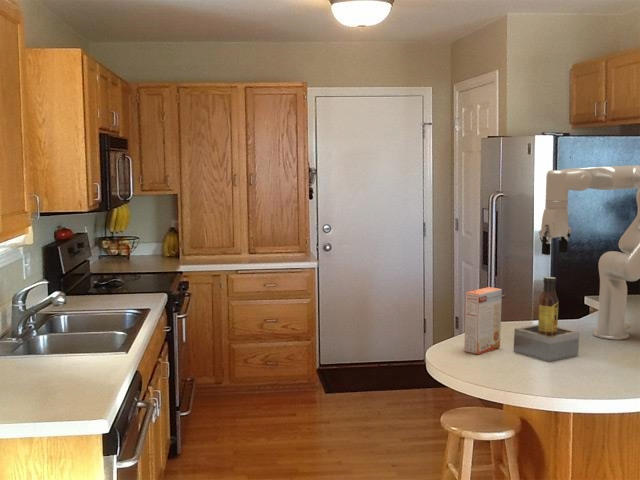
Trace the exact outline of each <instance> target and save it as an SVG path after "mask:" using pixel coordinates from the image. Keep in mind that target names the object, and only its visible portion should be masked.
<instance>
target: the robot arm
mask: <svg viewBox="0 0 640 480" xmlns="http://www.w3.org/2000/svg"><path fill="white" fill-rule="evenodd" d="M545 179H546V180H545V182H546V183H545V209H544V210H543V213H542V217H541V225H540V227H541V228H540V230H539V231H538V236H539V239H540V243H541V254H542V255H545V256H550V255H551V240H552V239H557V238H559V242H558V252H560V253H564V254H565V253H568V244H569V241H570V237H571V232H572V230H573V228H571V226H569V213H568V212H569V210H568V202H569V201H568V199H569V191H576V192H583V191H585V190H588V189H589V190H590V189H591V190H597V191H598V190H601V191H613V190H630V189H633V190H635V189H638V190H637V192H636V195H635V199H636V204H637V214H636V216H635V218H634V220H633V221H632V222H631V224H630V225H629V227H627V229H626V230H625V232H624V233H623V235H621V237H620V239H619V241H618V248H619V249H620V251H621V252H620V251H613V250H610V251H606V252H605V253H603V254H602V255H601V256H600V257H599V260H598V273H599V297H598V311H597V328H596V329H594V330H592V335H593V336H595V337H597V338H600V339H604V340H605V339H606V340H617V341H618V340H627V339H629V337H630V335H629V333H628V332H626V330H629V329H630V328H631V327H632V326H631V324H630V323H626V314H627V299H628V298H627V297H628V285H627V282H636V281H638V280H639V279H640V165H637V164H636V165H633V164H632V165H631V164H630V165H613V166H611V165H610V166H595V167H573V168H571V167H570V168H562V169H560V170H559V169H557V170H556V169H554V170H553V169H551V170H549V171H547V172H546V178H545Z"/></svg>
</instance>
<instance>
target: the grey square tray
mask: <svg viewBox="0 0 640 480" xmlns="http://www.w3.org/2000/svg"><path fill="white" fill-rule="evenodd" d="M513 331H514V334H513V352H514V353H517V354H521V355H524V356H527V357H531V358H534V359H538V360H541V361H544V362H548V363H551V362H556V361H560V360H564V359H568V358H573V357H577V355H578V356H579V345H580V331H576V330H571V329H568V328H564V327H560V326H557V335H555V336H546V335H542V334H538V331H539V330H538V323H537V324H533V325H528V326H523V327H517V328H514V330H513Z"/></svg>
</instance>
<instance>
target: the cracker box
mask: <svg viewBox="0 0 640 480" xmlns="http://www.w3.org/2000/svg"><path fill="white" fill-rule="evenodd" d="M502 293H503V289H502V288H497V287H492V286H487V287H483V288H480V289H475V290H470V291H466V292H465V304H464V305H465V310H464V311H465V312H464V313H465V315H464V348H463V350H464V351H463V352H465V353H470V354H472V355H473V354H474V355H477V356H478V355H481V354H484V353H487V352H489V351H492V350H496V349H499V348H501V329H502V327H501V326H502V323H501V322H502V300H503V299H502V298H503V297H502Z"/></svg>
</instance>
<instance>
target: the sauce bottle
mask: <svg viewBox="0 0 640 480" xmlns="http://www.w3.org/2000/svg"><path fill="white" fill-rule="evenodd" d="M556 282H557V278H556V277H553V276H544V277H543V291H542V292H541V294H540V296H539V305H538V323H537V324H538V330H539V331H538V334H542V335H546V336H555V335H557V327H558V321H559V318H558V317H559V297H558V296H557V292H556Z"/></svg>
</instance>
